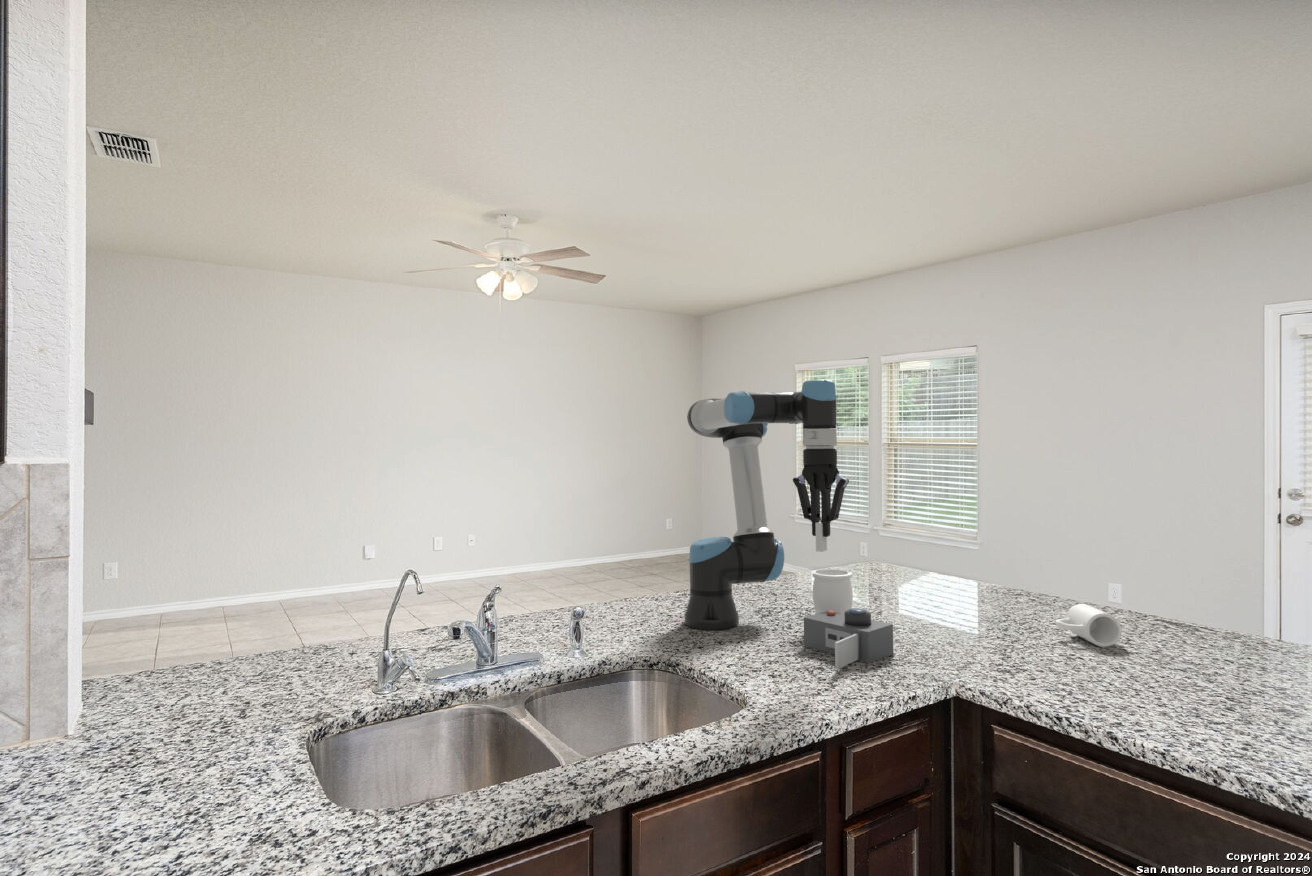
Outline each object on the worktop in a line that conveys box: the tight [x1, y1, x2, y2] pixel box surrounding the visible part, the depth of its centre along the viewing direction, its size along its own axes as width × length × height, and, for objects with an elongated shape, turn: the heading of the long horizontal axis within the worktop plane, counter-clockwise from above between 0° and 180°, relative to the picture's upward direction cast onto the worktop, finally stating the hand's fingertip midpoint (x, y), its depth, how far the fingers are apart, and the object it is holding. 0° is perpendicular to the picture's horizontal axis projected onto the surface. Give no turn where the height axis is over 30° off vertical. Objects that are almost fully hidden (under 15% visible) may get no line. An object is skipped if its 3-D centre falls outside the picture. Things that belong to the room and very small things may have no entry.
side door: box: [834, 633, 859, 670], centre depth 148 cm, size 10×1×6 cm, turn 136°
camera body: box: [803, 607, 894, 664], centre depth 160 cm, size 18×10×10 cm, turn 39°
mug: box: [1055, 603, 1123, 648], centre depth 164 cm, size 12×10×8 cm
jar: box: [811, 568, 854, 614], centre depth 179 cm, size 11×10×15 cm
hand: (821, 550), depth 154 cm, fingers closed
